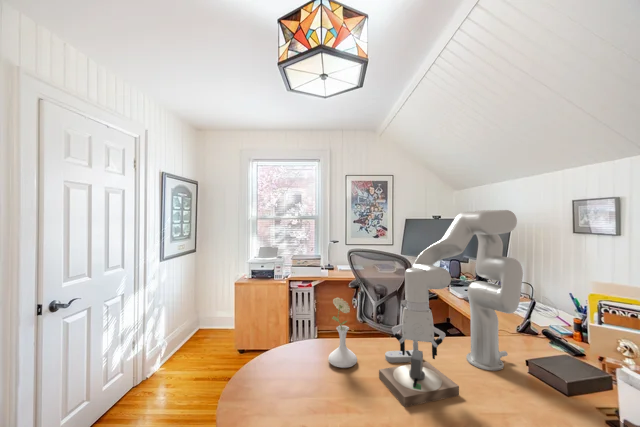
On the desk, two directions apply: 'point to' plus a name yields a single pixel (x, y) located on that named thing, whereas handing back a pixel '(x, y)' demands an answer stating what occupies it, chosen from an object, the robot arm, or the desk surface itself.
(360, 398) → the desk surface
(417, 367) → the dark grey boxy piece
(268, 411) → the desk surface
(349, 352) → the flower in vase
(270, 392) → the desk surface
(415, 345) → the electronic device
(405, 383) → the board
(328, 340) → the desk surface
